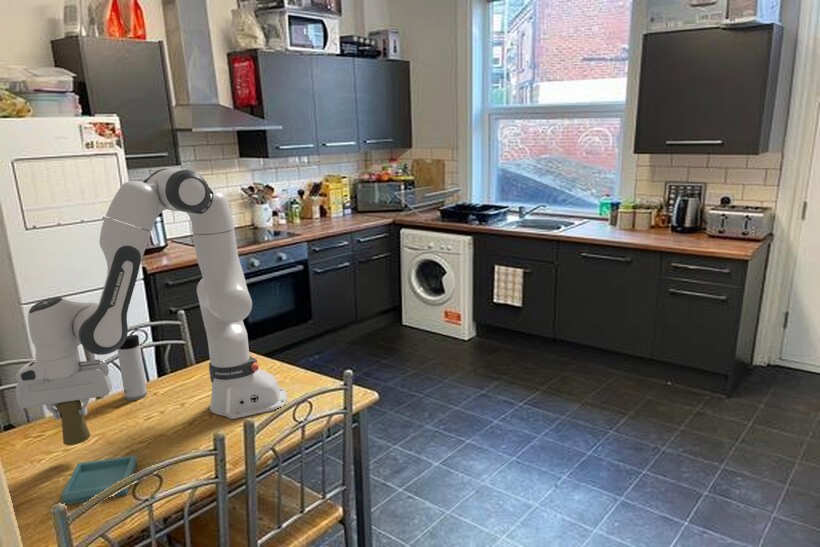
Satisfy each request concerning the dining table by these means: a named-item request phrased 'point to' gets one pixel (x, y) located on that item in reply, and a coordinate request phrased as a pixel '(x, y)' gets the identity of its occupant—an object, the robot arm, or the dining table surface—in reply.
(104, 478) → the tray
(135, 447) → the dining table surface
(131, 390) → the travel mug
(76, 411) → the brown tapered cylinder
